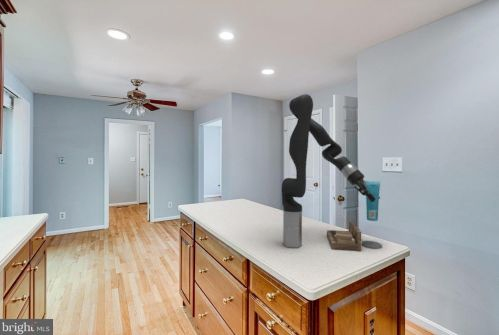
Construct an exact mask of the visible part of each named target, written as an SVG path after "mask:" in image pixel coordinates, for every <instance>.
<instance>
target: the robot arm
mask: <svg viewBox="0 0 499 335" xmlns="http://www.w3.org/2000/svg"><path fill="white" fill-rule="evenodd" d="M288 105H289V106H288V107H289V110H290V112H291V114H293V116H294V117H295V118H296V119H297V121H296V125H295V126H294V129H293V131H292V133H291V135H290V137H289V144H288V146H289V147H288V153H289V156H290V159H291V161H292V162H293V164H294V167H295V172H296V173H295V174H296V176H295V177H296V178H295V177H287V178H286V177H285V178H284V179H283V180H282V184H281V201H282V202H281V204H282V208H283V209H282V210H283V212H282V213H283V215H282V216H283V217H282V218H283V219H282V221H283V222H282V224H283V225H282V226H283V228H282V229H283V230H282V236H283V237H282V240H283V241H282V244H283V246H285V248H294V249H296V248H297V249H300V247H302V246H303V205H302V204H301V203H299V202H297V201H296V200H295V199H294V198H300V199H301V198H303V197H304V196H305V194H306V192H307V191H306V190H307V162H308V161H307V157H308V151H309V136H310V134H311V135H312V137H313V138H314V140H315V141H316V143H317V144H318V145H319V146H320V147H325V146H327V147H325V148H324V149H323V150H322V151H321V155H322V156H321V157H322V158H323V159H325V160H326V161H328V162H329V163H331V164H332V165H333V166H335V167H336V168H337V169H338V171H340V173H341V174H342V176H343V177H344V178H345V179H346V180H347V181H348V182H349V183H350V185H352V186H354V188H355V190H357V191H358V192H359V194H361V195H362V196H363V197H364V196H365V197H366V196H367V197H368V198H369V199H370V201H371V202H373V201H375V200H376V199H375V198H374V196H373V195H372V194H371V193H370V192H369V191H368V188H367V187H366V186H365V181H366V180H364V178H365V175H364V173H363V172H361V171H360V169H359V168H358V167H356V165H354V163H352V162H351V161H350V160H349V158H347V156H344V155H343V156H340V157H338V156H339V155H340V154H342V152H343V149H342V147H341V145H340V144H338V143H337V142H336V141H335V140H334V139H332V137H331V136H330V135H329V133H328V132H327V130H326V129H325V128H324V127H323V125H321V124H320V123H318V122H317V121H315V119H313V118H312V115H313V114H312V113H313V109H314V102H313V98H312V96H311V95H309V94H308V93H305V94H301V95H299V96H297V97H294V98H292V99H291V100H290V101H289V104H288ZM336 157H338V158H336ZM380 199H381V196H379V200H380Z"/></svg>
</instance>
